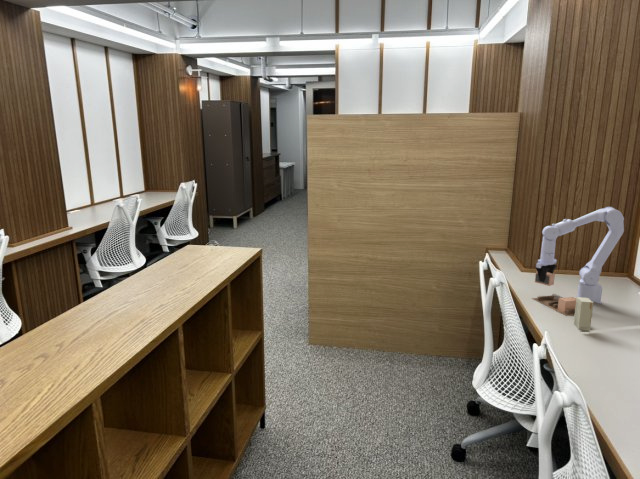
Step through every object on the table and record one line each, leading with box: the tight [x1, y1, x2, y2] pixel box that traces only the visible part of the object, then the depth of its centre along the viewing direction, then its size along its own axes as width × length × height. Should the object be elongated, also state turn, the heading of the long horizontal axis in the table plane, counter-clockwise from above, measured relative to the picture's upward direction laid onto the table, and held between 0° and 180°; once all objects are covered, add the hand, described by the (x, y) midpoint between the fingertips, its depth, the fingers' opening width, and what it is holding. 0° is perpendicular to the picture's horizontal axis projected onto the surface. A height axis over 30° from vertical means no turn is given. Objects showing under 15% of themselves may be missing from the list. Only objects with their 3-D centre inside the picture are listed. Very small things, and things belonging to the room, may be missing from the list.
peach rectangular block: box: [534, 271, 556, 287], centre depth 219 cm, size 5×7×5 cm, turn 36°
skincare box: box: [573, 296, 594, 333], centre depth 183 cm, size 6×4×12 cm
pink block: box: [558, 296, 577, 312], centre depth 202 cm, size 7×5×5 cm, turn 104°
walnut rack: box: [531, 293, 575, 317], centre depth 207 cm, size 13×22×2 cm, turn 14°
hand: (544, 280), depth 219 cm, fingers closed on peach rectangular block, 5 cm apart
